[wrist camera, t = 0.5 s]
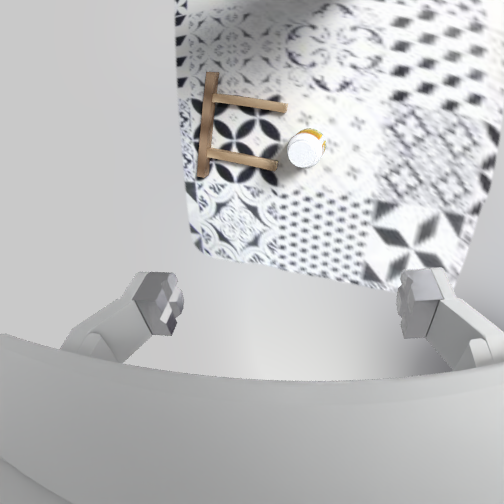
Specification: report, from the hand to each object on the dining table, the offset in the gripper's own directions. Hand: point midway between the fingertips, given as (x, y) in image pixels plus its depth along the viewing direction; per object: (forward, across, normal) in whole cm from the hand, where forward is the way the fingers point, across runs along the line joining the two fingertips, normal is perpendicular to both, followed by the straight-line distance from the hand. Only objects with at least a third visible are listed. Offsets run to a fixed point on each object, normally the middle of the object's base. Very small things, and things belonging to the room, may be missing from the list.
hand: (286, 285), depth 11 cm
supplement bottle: (+44, -1, +8) cm, 45 cm away
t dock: (+46, +11, +5) cm, 48 cm away
